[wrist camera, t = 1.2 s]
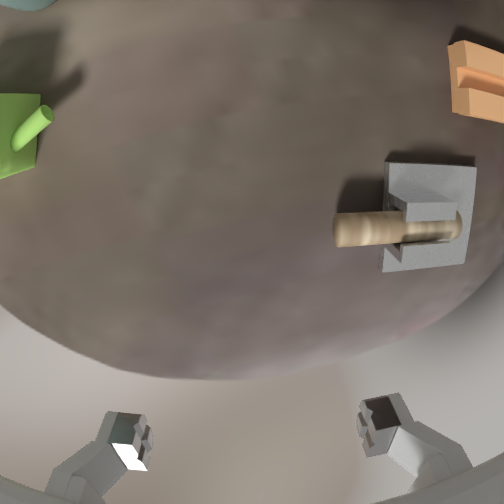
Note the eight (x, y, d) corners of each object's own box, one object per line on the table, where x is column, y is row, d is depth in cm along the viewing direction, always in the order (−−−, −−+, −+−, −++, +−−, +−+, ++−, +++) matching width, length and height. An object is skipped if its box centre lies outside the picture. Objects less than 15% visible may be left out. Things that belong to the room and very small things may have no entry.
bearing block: (381, 160, 31) (409, 170, 25) (466, 164, 31) (499, 174, 25) (375, 264, 36) (397, 291, 30) (455, 256, 36) (482, 278, 30)
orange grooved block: (444, 44, 26) (464, 40, 22) (501, 62, 26) (521, 61, 22) (449, 113, 29) (469, 115, 25) (504, 124, 29) (525, 127, 25)
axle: (331, 237, 32) (340, 253, 29) (333, 208, 31) (342, 221, 28) (444, 230, 32) (459, 243, 30) (449, 204, 31) (464, 216, 28)
